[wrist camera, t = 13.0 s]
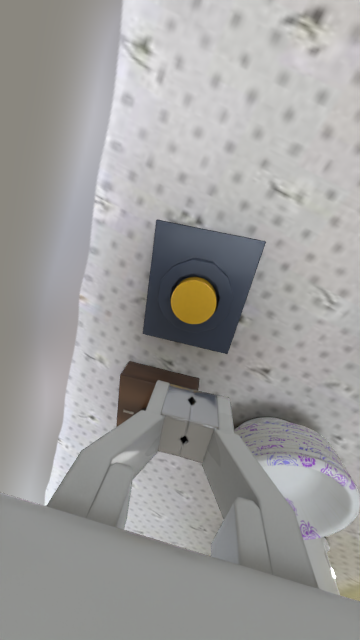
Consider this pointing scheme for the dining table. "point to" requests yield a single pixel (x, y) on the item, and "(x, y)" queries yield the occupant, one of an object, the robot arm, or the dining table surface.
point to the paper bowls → (304, 474)
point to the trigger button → (193, 300)
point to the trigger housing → (205, 262)
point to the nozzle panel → (144, 387)
